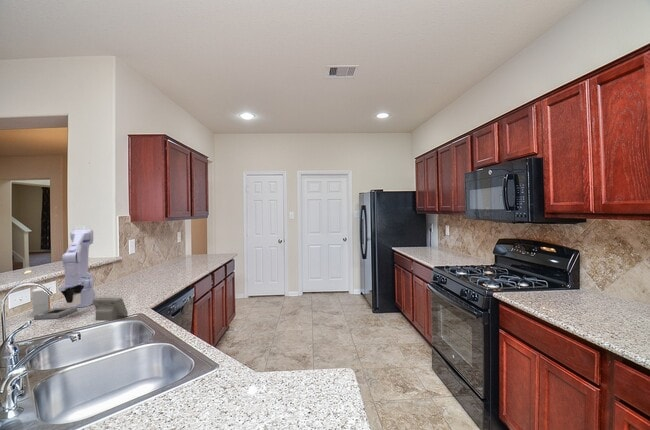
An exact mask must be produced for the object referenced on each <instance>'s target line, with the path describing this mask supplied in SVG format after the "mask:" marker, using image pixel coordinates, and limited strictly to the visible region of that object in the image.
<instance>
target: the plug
mask: <svg viewBox="0 0 650 430" xmlns="http://www.w3.org/2000/svg"><path fill="white" fill-rule="evenodd" d="M78 304H81V293H75V292H74V293H73V301H72V302H71V303H67V301H66V300H65V307H72V306H76V305H78Z"/></svg>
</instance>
